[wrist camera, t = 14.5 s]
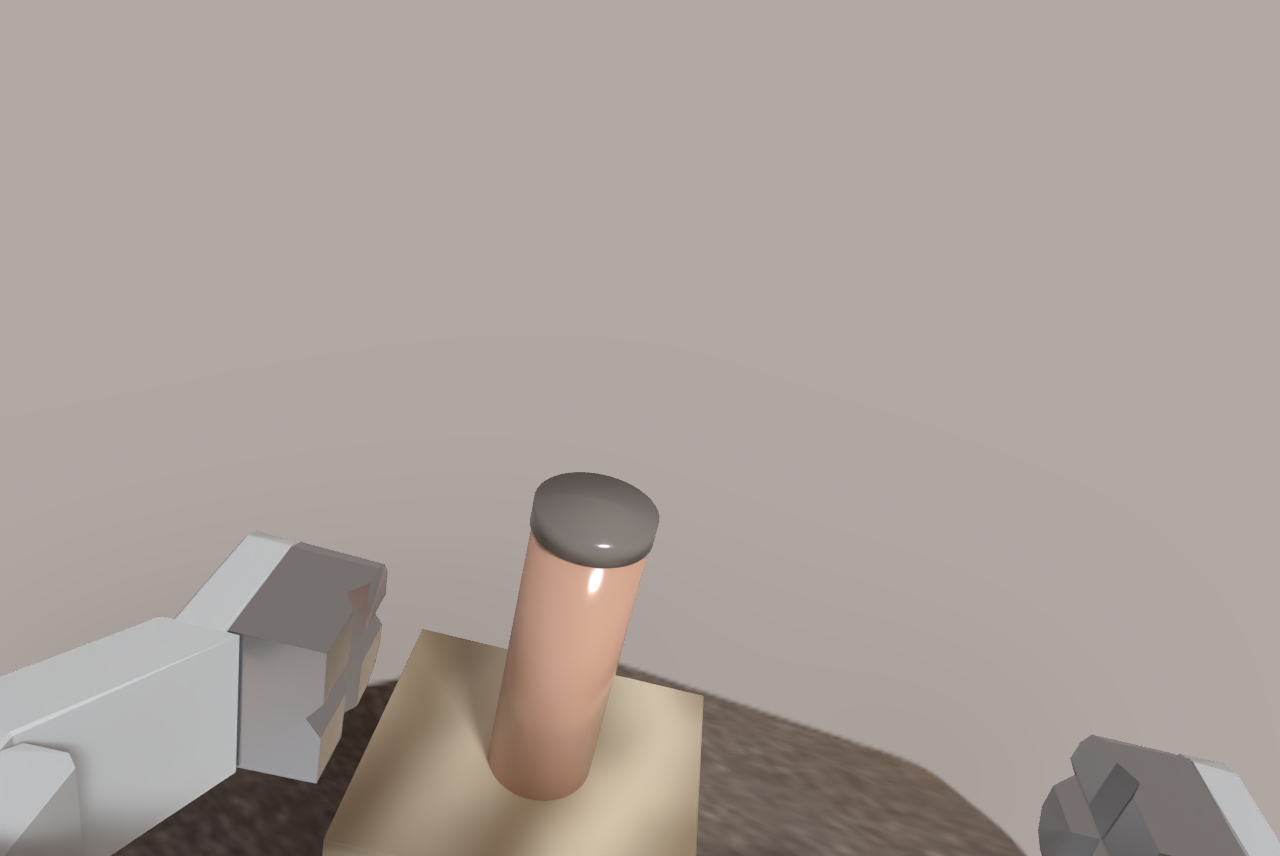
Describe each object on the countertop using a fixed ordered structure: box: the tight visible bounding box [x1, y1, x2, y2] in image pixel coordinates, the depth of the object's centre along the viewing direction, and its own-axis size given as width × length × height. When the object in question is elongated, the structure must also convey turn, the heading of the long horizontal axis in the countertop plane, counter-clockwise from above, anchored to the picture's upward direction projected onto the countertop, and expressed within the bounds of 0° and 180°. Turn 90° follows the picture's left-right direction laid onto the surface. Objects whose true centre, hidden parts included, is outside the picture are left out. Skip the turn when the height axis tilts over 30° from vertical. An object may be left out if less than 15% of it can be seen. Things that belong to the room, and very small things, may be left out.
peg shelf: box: [322, 630, 703, 856], centre depth 42 cm, size 14×12×10 cm
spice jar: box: [488, 472, 659, 801], centre depth 36 cm, size 5×5×13 cm
